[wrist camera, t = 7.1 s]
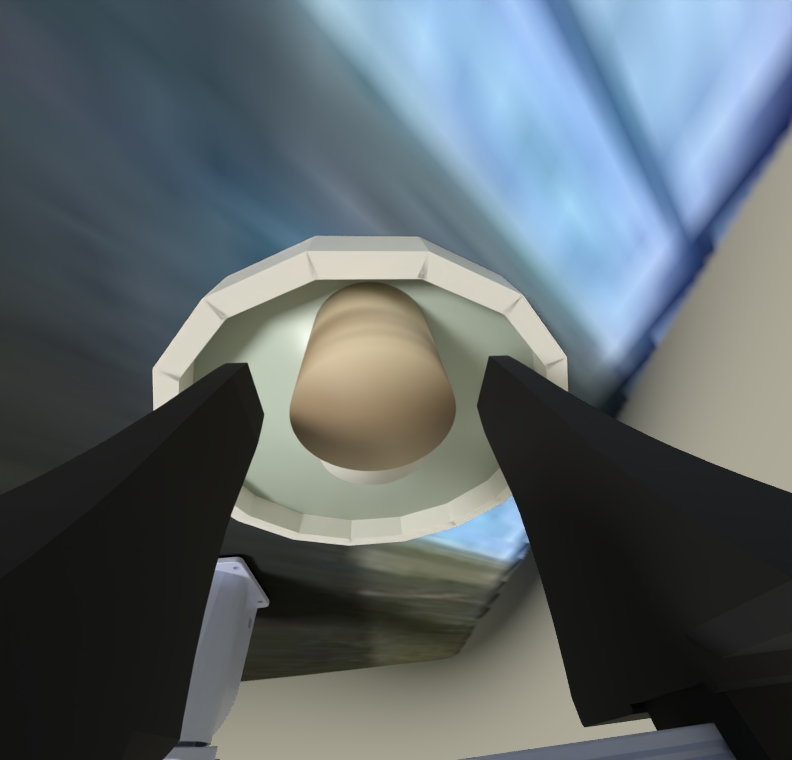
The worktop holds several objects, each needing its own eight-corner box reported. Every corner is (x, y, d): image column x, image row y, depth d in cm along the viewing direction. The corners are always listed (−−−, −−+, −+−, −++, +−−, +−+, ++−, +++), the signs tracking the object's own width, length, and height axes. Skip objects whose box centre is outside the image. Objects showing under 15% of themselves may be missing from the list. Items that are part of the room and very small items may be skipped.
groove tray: (499, 504, 21) (510, 532, 20) (243, 522, 20) (233, 554, 18) (610, 237, 11) (652, 251, 9) (86, 234, 9) (30, 250, 8)
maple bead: (422, 381, 13) (445, 466, 10) (320, 385, 13) (304, 475, 9) (432, 281, 10) (469, 346, 7) (304, 282, 10) (272, 351, 7)
